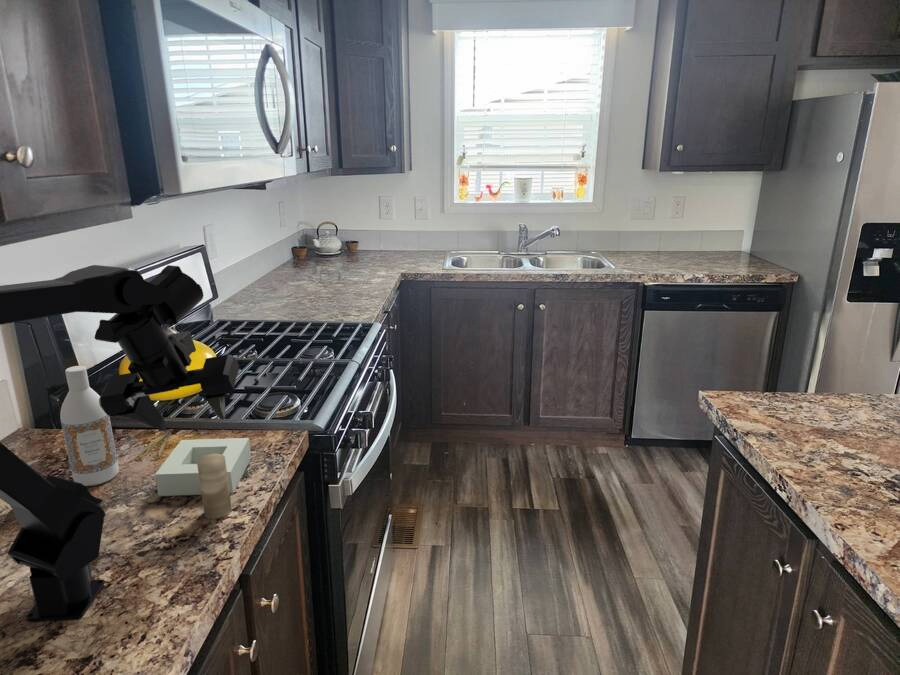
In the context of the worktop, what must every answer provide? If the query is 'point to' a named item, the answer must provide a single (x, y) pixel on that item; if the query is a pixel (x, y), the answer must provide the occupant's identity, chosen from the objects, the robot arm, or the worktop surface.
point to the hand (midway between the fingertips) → (194, 423)
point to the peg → (214, 485)
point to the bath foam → (87, 432)
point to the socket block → (183, 470)
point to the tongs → (153, 444)
